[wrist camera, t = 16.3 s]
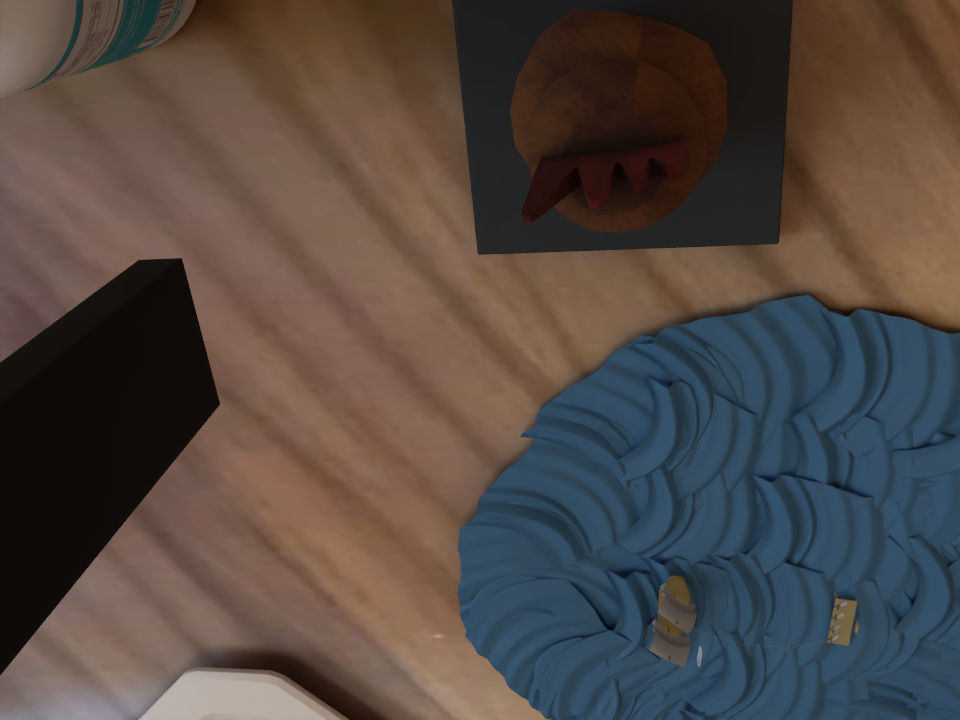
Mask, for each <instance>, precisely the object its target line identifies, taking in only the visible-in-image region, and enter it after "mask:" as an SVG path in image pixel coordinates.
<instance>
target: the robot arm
mask: <svg viewBox="0 0 960 720" xmlns="http://www.w3.org/2000/svg"><path fill="white" fill-rule="evenodd" d="M219 405H220V402H219V398H218V395H217V391H216V387H215V383H214V379H213V375H212V372H211V368H210V364H209V360H208V356H207V353H206V349H205V345H204V341H203V337H202V333H201V330H200V326H199V322H198V318H197V314H196V311H195V307H194V303H193V299H192V295H191V291H190V288H189V284H188V280H187V276H186V272H185V269H184V265H183V261H182V258H177V259H151V260H138V261H137V262H136V263H134V264H133V265H132V266H130V267H129V268H127V269H126V270H125V271H123V272H122V273H121V274H119V275H118V276H117V277H115V278H114V279H113V280H111V281H110V282H109V283H107V284H106V285H105V286H103V287H102V288H100V289H99V290H98V291H96V292H95V293H94V294H92V295H91V296H90V297H88V298H87V299H86V300H84V301H83V302H82V303H80V304H79V305H78V306H76V307H75V308H73V309H72V310H71V311H69V312H68V313H67V314H65V315H64V316H63V317H61V318H60V319H59V320H57V321H56V322H55V323H53V324H52V325H51V326H49V327H48V328H46V329H45V330H44V331H42V332H41V333H40V334H38V335H37V336H36V337H34V338H33V339H32V340H30V341H29V342H28V343H26V344H25V345H24V346H22V347H21V348H19V349H18V350H17V351H15V352H14V353H13V354H11V355H10V356H9V357H7V358H6V359H5V360H3V361H2V362H1V363H0V675H1V674H2V673H3V671H4V670H5V669H6V668H7V667H8V665H9V664H10V663H11V662H12V660H13V659H14V658H15V657H16V655H17V654H18V653H19V652H20V650H21V649H22V648H23V647H24V646H25V644H26V643H27V642H28V641H29V639H30V638H31V637H32V636H33V634H34V633H35V632H36V631H37V630H38V628H39V627H40V626H41V625H42V623H43V622H44V621H45V620H46V618H47V617H48V616H49V615H50V613H51V612H52V611H53V610H54V609H55V607H56V606H57V605H58V604H59V602H60V601H61V600H62V599H63V597H64V596H65V595H66V594H67V592H68V591H69V590H70V589H71V588H72V586H73V585H74V584H75V583H76V581H77V580H78V579H79V578H80V576H81V575H82V574H83V573H84V571H85V570H86V569H87V568H88V567H89V565H90V564H91V563H92V562H93V560H94V559H95V558H96V557H97V555H98V554H99V553H100V552H101V551H102V549H103V548H104V547H105V546H106V544H107V543H108V542H109V541H110V539H111V538H112V537H113V536H114V534H115V533H116V532H117V531H118V530H119V528H120V527H121V526H122V525H123V523H124V522H125V521H126V520H127V518H128V517H129V516H130V515H131V513H132V512H133V511H134V510H135V509H136V507H137V506H138V505H139V504H140V502H141V501H142V500H143V499H144V497H145V496H146V495H147V494H148V492H149V491H150V490H151V489H152V488H153V486H154V485H155V484H156V483H157V481H158V480H159V479H160V478H161V476H162V475H163V474H164V473H165V471H166V470H167V469H168V468H169V467H170V465H171V464H172V463H173V462H174V460H175V459H176V458H177V457H178V455H179V454H180V453H181V452H182V451H183V449H184V448H185V447H186V446H187V444H188V443H189V442H190V441H191V439H192V438H193V437H194V436H195V434H196V433H197V432H198V431H199V430H200V428H201V427H202V426H203V425H204V423H205V422H206V421H207V420H208V418H209V417H210V416H211V415H212V413H213V412H214V411H215V410H216V409H217V407H218V406H219Z"/></svg>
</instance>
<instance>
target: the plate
mask: <svg viewBox="0 0 960 720" xmlns="http://www.w3.org/2000/svg"><path fill="white" fill-rule="evenodd" d="M138 720H349V719H348V718H346V717H345V716H343V715H342V714H341V713H339V712H338V711H336V710H335V709H333V708H332V707H330V706H329V705H327V704H326V703H324V702H323V701H321V700H320V699H319V698H317V697H316V696H314V695H313V694H311V693H310V692H308V691H307V690H305V689H304V688H302V687H301V686H300V685H298V684H297V683H295V682H294V681H292V680H291V679H289V678H288V677H286V676H285V675H283V674H280V673H277V672H274V671H271V670H255V669H234V668H212V667H196V668H193V669H189V670H187V671H185V672H184V673H183V674H182V675H181V676H180V677H179V678H178V679H177V680H176V681H175V683H174V684H173V685H172V686H171V687H170V688H169V689H168V690H167V691H166V692H165V693H164V694H163V695H162V696H161V697H160V698H159V699H158V700H157V701H156V702H155V703H154V704H153V705H152V706H151V707H150V708H149V709H148V710H147V711H146V712H145V713H144V714H143V715H142V716H141V717H140V718H139V719H138Z"/></svg>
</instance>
